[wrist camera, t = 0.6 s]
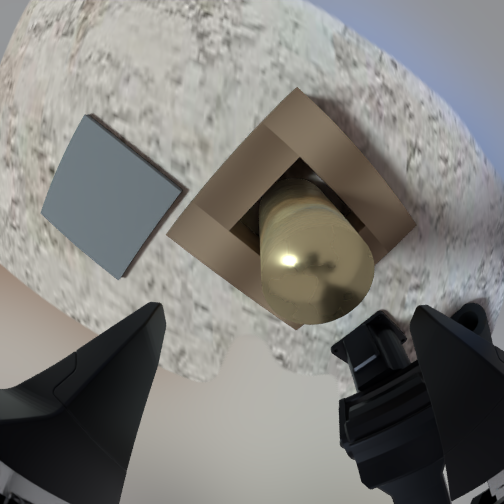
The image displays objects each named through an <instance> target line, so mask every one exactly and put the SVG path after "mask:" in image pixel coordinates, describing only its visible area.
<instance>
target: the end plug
mask: <svg viewBox="0 0 504 504" xmlns="http://www.w3.org/2000/svg"><path fill="white" fill-rule="evenodd" d="M259 229H260V256H261V284H262V291H263V294H264V297H265V299H266V301H267V303H268V304H269V306H270V307H271V308H272V309H273V311H274V312H276V313H277V314H278V315H280V316H281V317H283V318H284V319H287V320H289V321H292V322H295V323H299V324H308V325H313V324H323V323H327V322H331V321H333V320H336V319H338V318H341V317H342V316H344V315H346V314H348V313H349V312H350V311H352V310H353V309H354V308H355V307H356V306H358V305H359V303H360V302H361V301H362V300H363V299H364V297H365V296H366V295H367V293H368V291H369V289H370V287H371V284H372V281H373V277H374V260H373V256H372V253H371V251H370V249H369V247H368V245H367V244H366V243H365V242H364V240H363V239H362V238H361V237H360V235H359V234H358V233H357V232H356V230H355V229H354V228H353V227H352V226H351V224H350V223H349V222H348V221H347V220H346V219H345V217H344V216H343V215H342V214H341V213H340V212H339V210H338V209H337V208H336V207H335V206H334V205H333V204H332V202H331V201H330V200H329V199H328V198H327V197H326V196H325V195H324V193H323V192H322V191H321V190H320V189H319V188H318V187H317V186H316V185H314V184H313V183H311V182H309V181H307V180H304V179H300V178H288V179H284V180H281V181H279V182H277V183H275V184H274V185H272V186H271V187H270V188H269V189H268V190H267V191H266V192H265V194H264V195H263V197H262V199H261V202H260V206H259Z"/></svg>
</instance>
